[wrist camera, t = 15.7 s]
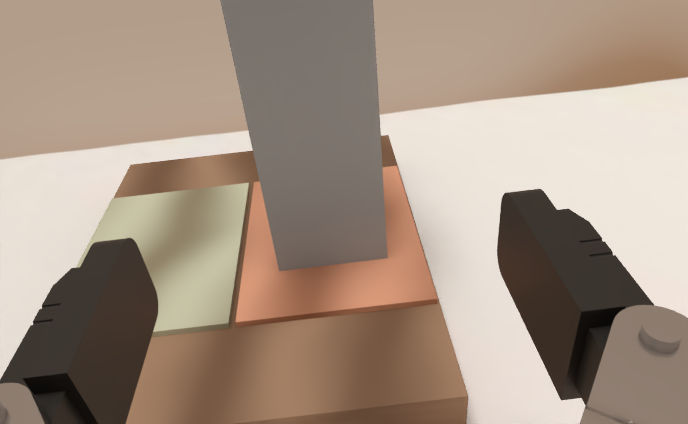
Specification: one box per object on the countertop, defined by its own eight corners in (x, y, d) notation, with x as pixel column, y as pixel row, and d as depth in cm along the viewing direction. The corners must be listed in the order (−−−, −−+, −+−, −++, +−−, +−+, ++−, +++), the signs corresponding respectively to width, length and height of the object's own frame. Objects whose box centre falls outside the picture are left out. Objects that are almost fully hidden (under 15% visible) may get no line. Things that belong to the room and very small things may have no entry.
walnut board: (6, 483, 19) (-25, 448, 18) (140, 190, 36) (129, 160, 34) (465, 429, 19) (468, 390, 18) (389, 161, 36) (387, 131, 34)
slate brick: (279, 271, 24) (209, -51, 16) (281, 209, 28) (226, -72, 20) (387, 258, 24) (368, -69, 16) (374, 198, 28) (354, -87, 20)
